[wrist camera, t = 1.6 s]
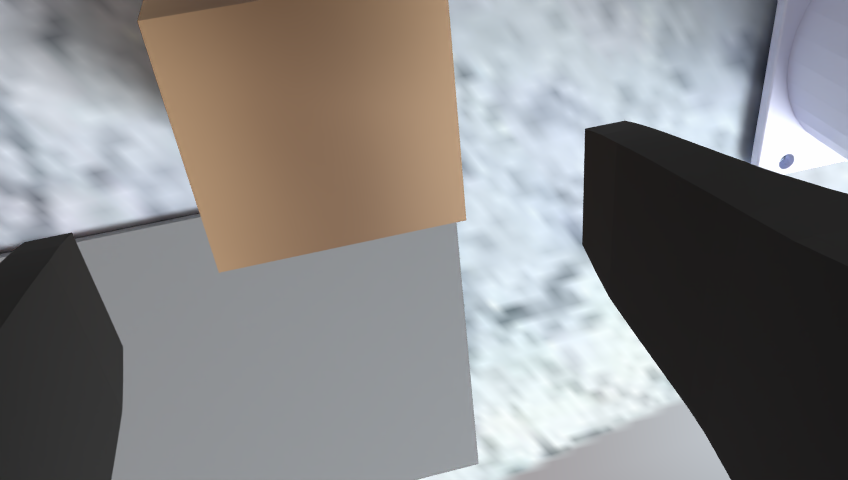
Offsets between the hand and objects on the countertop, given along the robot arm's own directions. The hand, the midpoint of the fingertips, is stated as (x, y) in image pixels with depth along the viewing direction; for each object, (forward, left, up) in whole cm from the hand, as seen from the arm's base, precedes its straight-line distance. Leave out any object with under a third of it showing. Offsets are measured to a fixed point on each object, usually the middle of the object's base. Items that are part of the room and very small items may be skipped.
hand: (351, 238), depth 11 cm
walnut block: (0, 0, -10) cm, 10 cm away
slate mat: (+3, +11, -9) cm, 15 cm away
